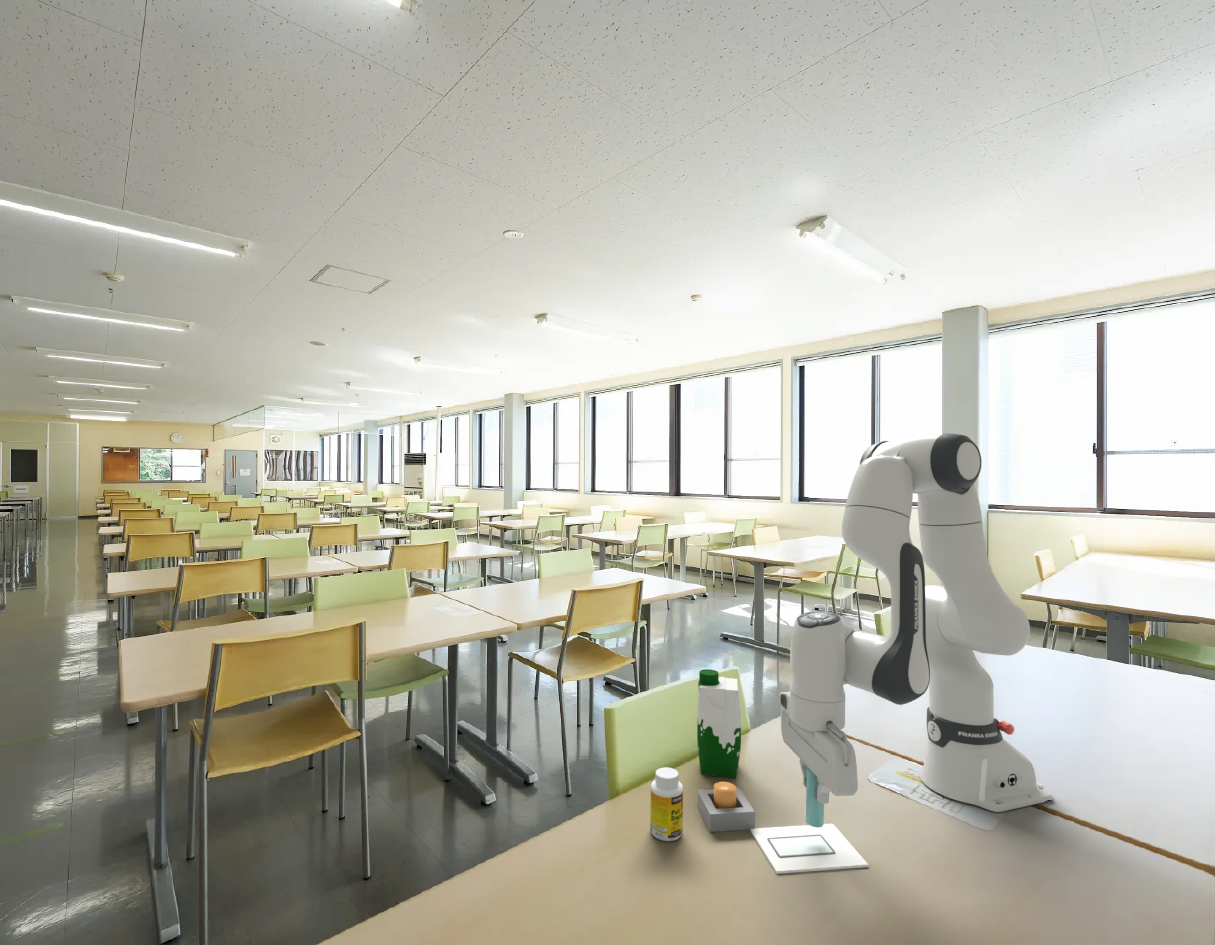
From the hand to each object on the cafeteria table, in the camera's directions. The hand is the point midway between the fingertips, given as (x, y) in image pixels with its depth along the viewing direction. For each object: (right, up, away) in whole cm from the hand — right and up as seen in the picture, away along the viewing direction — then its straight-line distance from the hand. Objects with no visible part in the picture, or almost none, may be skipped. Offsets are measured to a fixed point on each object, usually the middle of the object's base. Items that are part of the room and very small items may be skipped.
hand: (815, 794), depth 96 cm
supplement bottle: (-25, -8, +2) cm, 26 cm away
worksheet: (-2, -8, -2) cm, 8 cm away
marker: (0, -5, 0) cm, 5 cm away
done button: (-14, -6, +7) cm, 17 cm away
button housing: (-14, -8, +7) cm, 17 cm away
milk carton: (-11, -9, +25) cm, 29 cm away
